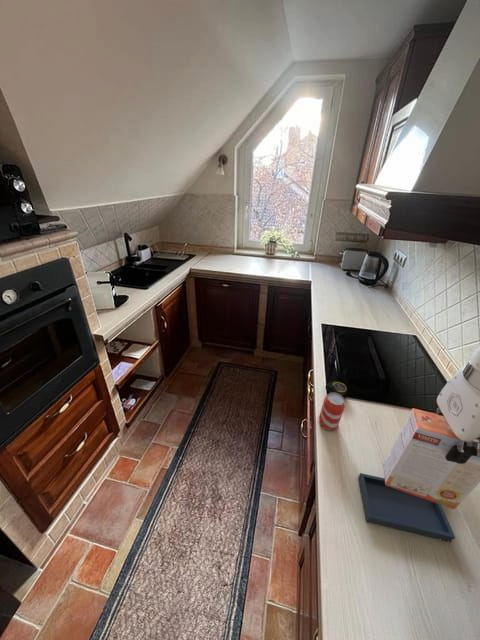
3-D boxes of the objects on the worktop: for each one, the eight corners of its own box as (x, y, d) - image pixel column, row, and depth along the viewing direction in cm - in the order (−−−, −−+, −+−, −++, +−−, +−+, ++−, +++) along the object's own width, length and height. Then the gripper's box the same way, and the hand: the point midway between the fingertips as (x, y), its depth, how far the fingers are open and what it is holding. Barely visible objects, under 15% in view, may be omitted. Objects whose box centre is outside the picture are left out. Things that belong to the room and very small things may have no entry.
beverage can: (327, 434, 83) (335, 409, 76) (314, 418, 88) (321, 394, 81) (341, 427, 85) (350, 403, 79) (328, 413, 90) (336, 388, 84)
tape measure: (323, 389, 99) (325, 382, 98) (337, 385, 102) (339, 378, 100) (335, 402, 94) (337, 395, 92) (349, 397, 96) (352, 390, 94)
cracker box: (446, 483, 60) (494, 427, 49) (454, 511, 55) (509, 455, 44) (381, 462, 64) (412, 405, 53) (384, 485, 59) (418, 429, 48)
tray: (430, 493, 68) (434, 488, 67) (450, 542, 59) (455, 538, 58) (357, 477, 71) (360, 472, 70) (366, 522, 62) (369, 517, 61)
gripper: (443, 345, 50) (410, 407, 59) (501, 417, 36) (445, 484, 45) (486, 351, 49) (445, 413, 58) (564, 427, 34) (493, 494, 44)
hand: (445, 443), depth 51 cm, fingers closed on cracker box, 6 cm apart
